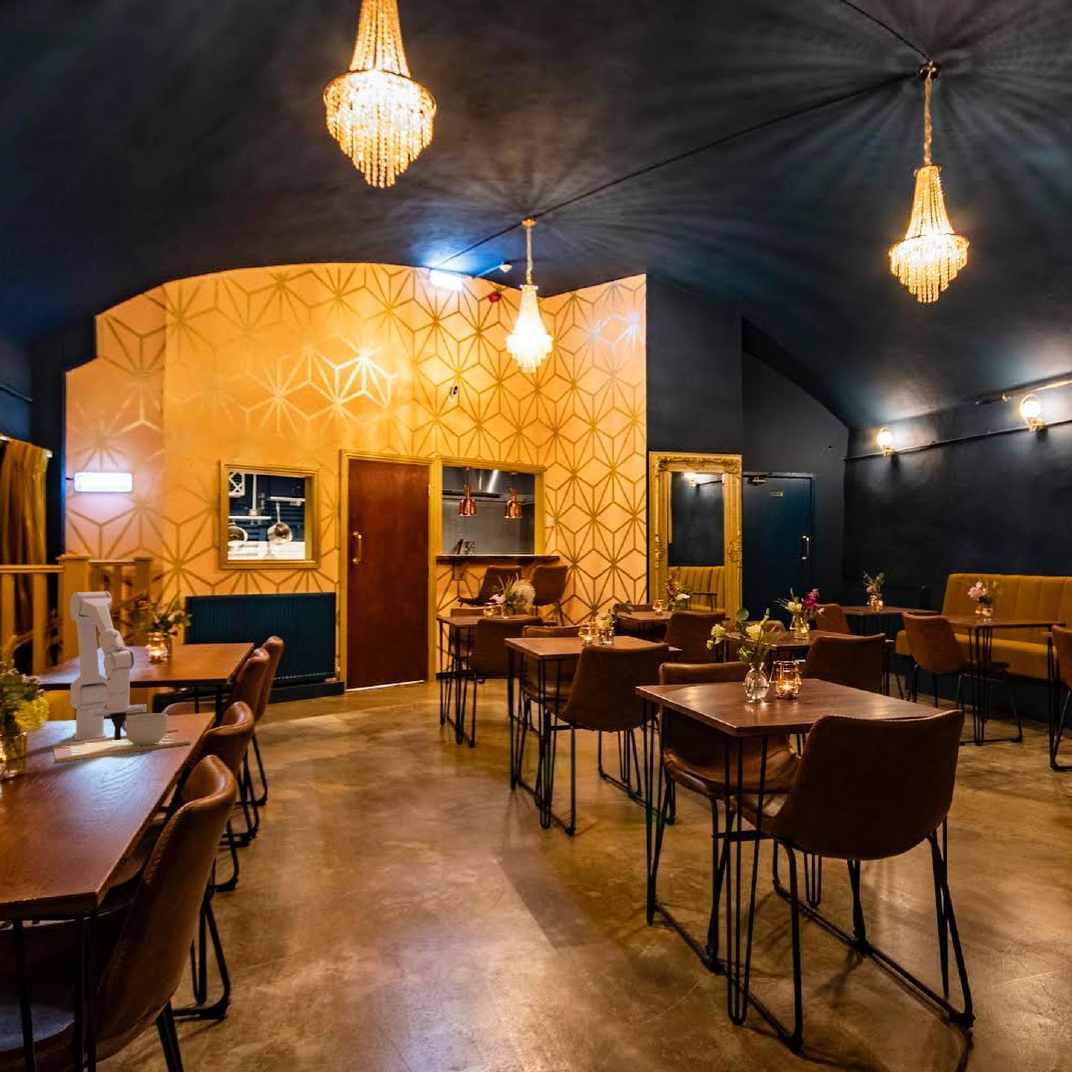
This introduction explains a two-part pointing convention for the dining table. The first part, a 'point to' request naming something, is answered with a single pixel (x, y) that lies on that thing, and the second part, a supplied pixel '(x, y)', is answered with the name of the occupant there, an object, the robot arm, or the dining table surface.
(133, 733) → the teacup
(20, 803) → the dining table surface
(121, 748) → the beige flat rectangular board
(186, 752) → the dining table surface
